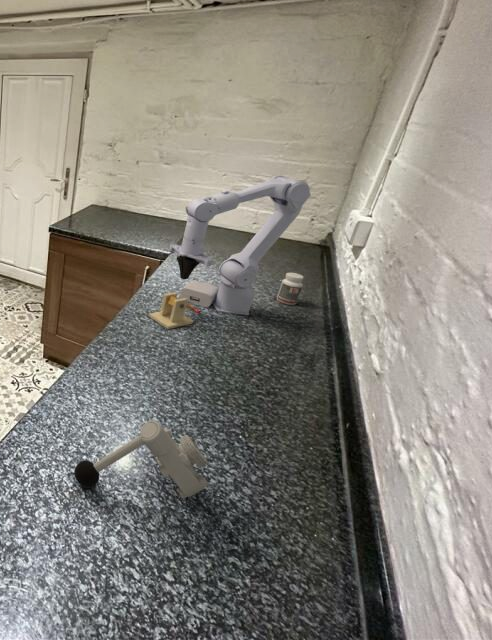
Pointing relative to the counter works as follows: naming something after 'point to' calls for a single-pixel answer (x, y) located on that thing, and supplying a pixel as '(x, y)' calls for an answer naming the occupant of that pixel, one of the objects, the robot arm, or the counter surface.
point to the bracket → (172, 312)
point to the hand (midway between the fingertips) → (184, 278)
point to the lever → (171, 302)
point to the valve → (169, 454)
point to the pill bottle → (290, 289)
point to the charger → (199, 293)
